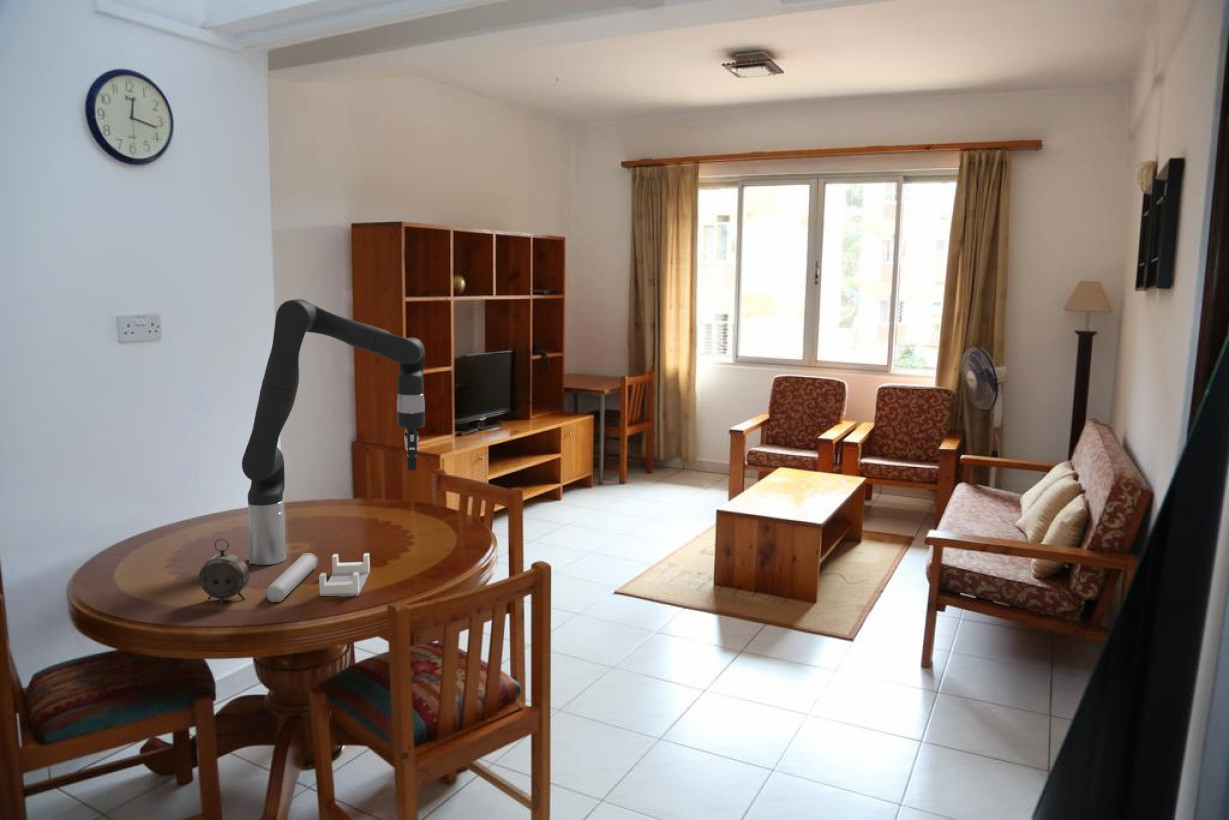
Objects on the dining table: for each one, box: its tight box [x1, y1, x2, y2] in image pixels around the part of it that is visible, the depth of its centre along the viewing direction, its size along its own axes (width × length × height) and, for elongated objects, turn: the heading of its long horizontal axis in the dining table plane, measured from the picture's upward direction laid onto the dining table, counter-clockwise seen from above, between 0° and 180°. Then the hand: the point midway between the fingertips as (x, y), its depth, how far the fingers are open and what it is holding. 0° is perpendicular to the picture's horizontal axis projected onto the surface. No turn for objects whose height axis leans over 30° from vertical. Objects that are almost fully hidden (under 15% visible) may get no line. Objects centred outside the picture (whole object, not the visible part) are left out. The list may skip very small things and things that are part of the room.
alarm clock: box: [198, 538, 250, 605], centre depth 215 cm, size 11×5×16 cm, turn 92°
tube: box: [266, 552, 319, 603], centre depth 227 cm, size 5×5×25 cm
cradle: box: [318, 552, 371, 597], centre depth 228 cm, size 9×17×6 cm, turn 6°
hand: (411, 466), depth 245 cm, fingers open, 8 cm apart
